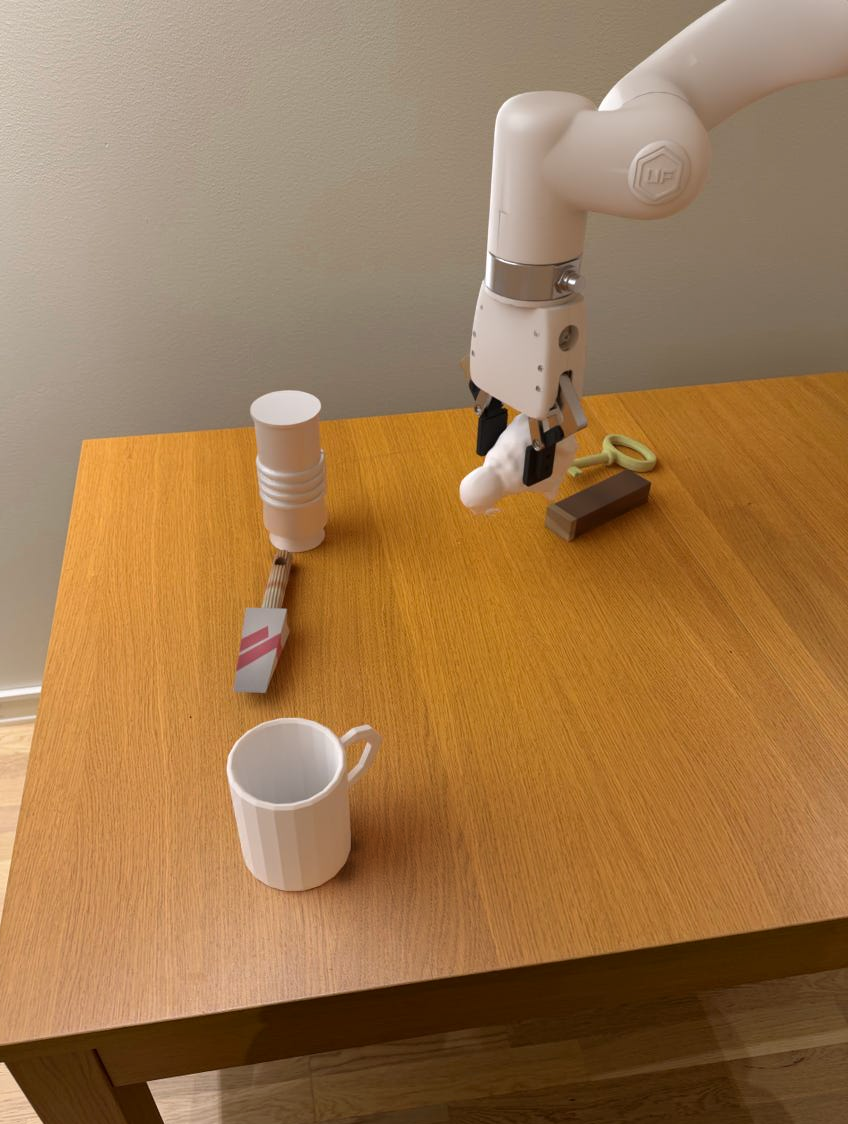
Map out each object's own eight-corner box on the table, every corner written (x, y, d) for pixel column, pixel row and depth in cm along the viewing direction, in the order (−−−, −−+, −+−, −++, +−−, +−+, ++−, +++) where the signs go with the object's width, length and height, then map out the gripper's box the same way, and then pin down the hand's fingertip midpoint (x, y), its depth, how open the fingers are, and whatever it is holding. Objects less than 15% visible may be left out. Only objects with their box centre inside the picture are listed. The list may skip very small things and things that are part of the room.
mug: (413, 827, 70) (416, 741, 63) (280, 912, 65) (267, 829, 58) (351, 761, 75) (347, 675, 68) (223, 836, 69) (205, 751, 63)
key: (554, 479, 104) (556, 462, 103) (614, 438, 111) (617, 422, 109) (608, 503, 101) (611, 487, 99) (667, 459, 107) (671, 443, 105)
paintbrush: (224, 678, 77) (265, 544, 93) (228, 702, 79) (267, 567, 94) (269, 680, 77) (303, 545, 92) (272, 704, 79) (304, 568, 94)
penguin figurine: (588, 412, 83) (486, 466, 79) (581, 489, 89) (486, 542, 85) (540, 386, 87) (440, 436, 83) (537, 461, 93) (443, 511, 89)
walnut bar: (623, 487, 103) (627, 467, 101) (648, 502, 101) (652, 481, 99) (544, 525, 98) (546, 505, 96) (568, 542, 96) (571, 521, 94)
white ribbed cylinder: (340, 543, 96) (334, 414, 86) (279, 562, 94) (265, 432, 84) (314, 510, 101) (305, 383, 91) (255, 527, 99) (239, 400, 89)
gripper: (646, 293, 70) (609, 493, 82) (496, 232, 81) (483, 417, 93) (575, 319, 67) (548, 522, 79) (429, 251, 77) (424, 440, 90)
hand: (513, 464), depth 86 cm, fingers closed on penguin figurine, 5 cm apart
